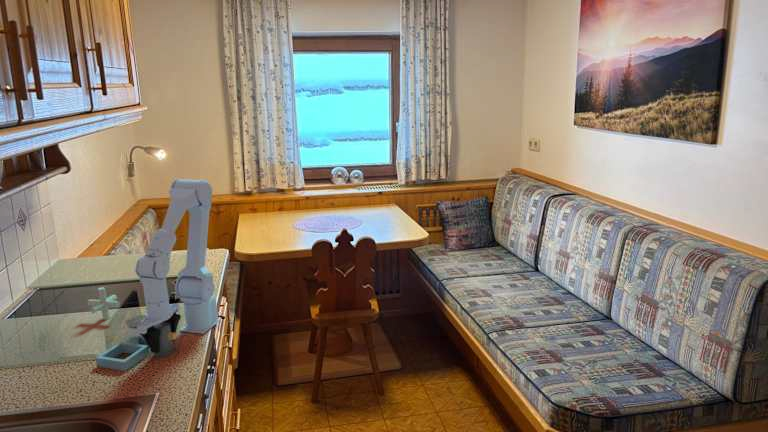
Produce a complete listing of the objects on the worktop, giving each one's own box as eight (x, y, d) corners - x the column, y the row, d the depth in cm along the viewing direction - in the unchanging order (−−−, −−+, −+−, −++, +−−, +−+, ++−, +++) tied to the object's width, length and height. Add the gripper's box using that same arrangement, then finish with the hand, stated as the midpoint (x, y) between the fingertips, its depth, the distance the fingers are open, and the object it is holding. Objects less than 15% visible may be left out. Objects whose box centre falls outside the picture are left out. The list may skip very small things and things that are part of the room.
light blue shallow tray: (122, 349, 154) (120, 341, 153) (149, 354, 151) (148, 345, 150) (97, 366, 145) (95, 357, 145) (125, 371, 143) (124, 362, 142)
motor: (145, 332, 164) (142, 311, 162) (166, 334, 162) (163, 313, 160) (118, 349, 154) (115, 327, 152) (140, 352, 152) (137, 330, 150)
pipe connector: (109, 326, 168) (104, 295, 165) (80, 324, 170) (75, 293, 167) (130, 312, 177) (126, 283, 175) (103, 310, 179) (98, 281, 177)
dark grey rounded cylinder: (162, 347, 154) (158, 321, 152) (182, 350, 153) (179, 323, 150) (150, 356, 150) (146, 329, 148) (171, 359, 148) (167, 331, 146)
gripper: (162, 287, 155) (168, 332, 159) (124, 309, 142) (132, 357, 145) (183, 290, 153) (189, 335, 157) (148, 312, 140) (154, 360, 143)
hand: (163, 346), depth 151 cm, fingers open, 6 cm apart
